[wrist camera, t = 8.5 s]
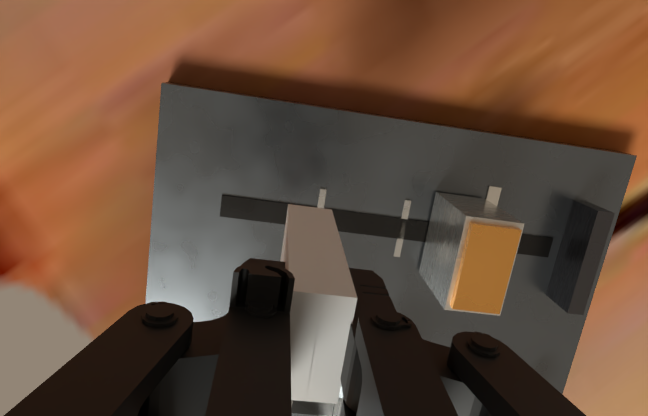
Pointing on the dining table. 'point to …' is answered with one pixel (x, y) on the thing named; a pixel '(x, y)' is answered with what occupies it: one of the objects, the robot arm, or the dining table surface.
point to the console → (377, 210)
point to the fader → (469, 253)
